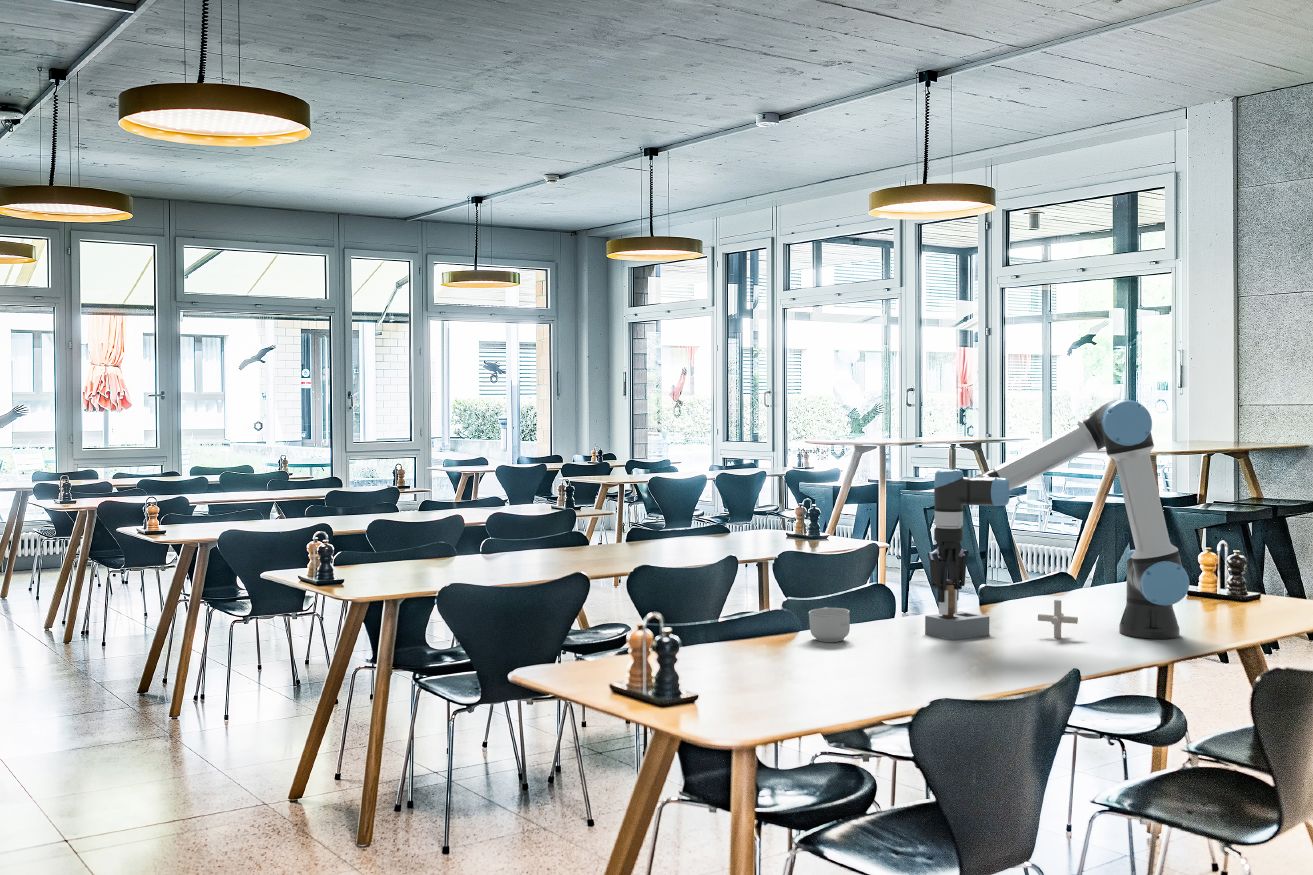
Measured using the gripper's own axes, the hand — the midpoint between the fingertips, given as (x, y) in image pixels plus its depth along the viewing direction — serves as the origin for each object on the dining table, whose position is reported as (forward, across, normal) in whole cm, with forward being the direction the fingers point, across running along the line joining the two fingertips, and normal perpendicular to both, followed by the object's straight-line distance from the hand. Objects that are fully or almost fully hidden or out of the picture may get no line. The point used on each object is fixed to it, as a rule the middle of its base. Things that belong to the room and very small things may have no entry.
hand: (948, 613), depth 316 cm
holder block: (+6, -4, 0) cm, 7 cm away
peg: (+4, 0, 0) cm, 4 cm away
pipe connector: (+6, -24, +17) cm, 30 cm away
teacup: (+6, +30, -13) cm, 34 cm away
